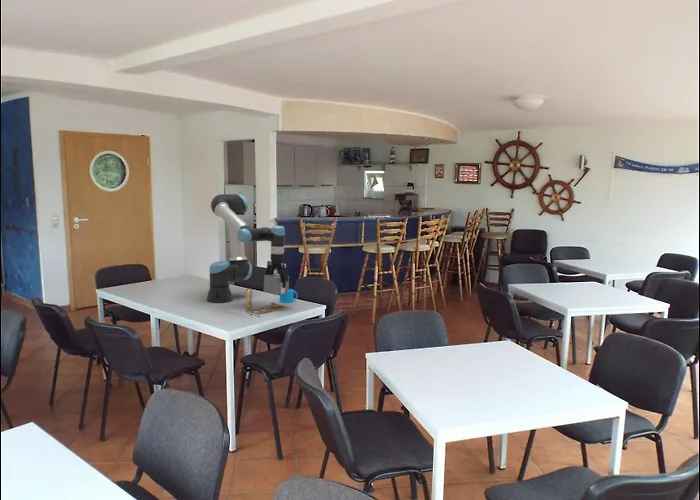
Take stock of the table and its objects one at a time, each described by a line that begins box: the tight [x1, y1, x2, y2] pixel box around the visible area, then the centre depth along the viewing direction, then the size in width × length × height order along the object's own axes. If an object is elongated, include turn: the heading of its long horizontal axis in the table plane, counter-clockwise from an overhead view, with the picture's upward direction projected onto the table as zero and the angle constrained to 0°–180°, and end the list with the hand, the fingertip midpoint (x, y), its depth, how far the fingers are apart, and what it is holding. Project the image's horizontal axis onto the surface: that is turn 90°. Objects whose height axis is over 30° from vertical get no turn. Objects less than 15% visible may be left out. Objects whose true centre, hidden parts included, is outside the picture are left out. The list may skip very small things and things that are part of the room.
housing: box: [263, 272, 290, 296], centre depth 300 cm, size 10×10×10 cm
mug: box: [279, 288, 298, 304], centre depth 318 cm, size 12×8×8 cm
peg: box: [245, 288, 253, 310], centre depth 296 cm, size 3×3×12 cm
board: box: [261, 302, 292, 312], centre depth 301 cm, size 12×12×4 cm
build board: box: [245, 306, 275, 318], centre depth 292 cm, size 11×11×2 cm
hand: (276, 291), depth 301 cm, fingers closed on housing, 10 cm apart
